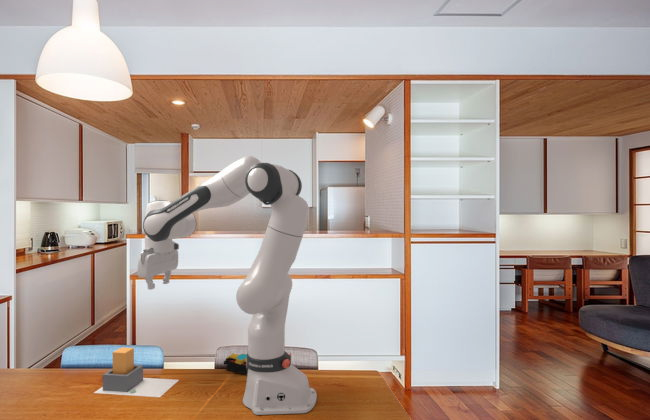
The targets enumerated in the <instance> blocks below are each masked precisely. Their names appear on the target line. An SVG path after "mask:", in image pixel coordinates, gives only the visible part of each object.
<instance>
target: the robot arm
mask: <svg viewBox="0 0 650 420" xmlns="http://www.w3.org/2000/svg"><path fill="white" fill-rule="evenodd" d="M302 185H303V183H302V180H301V178H300V176H299V175H298V174H297V173H296V172H294V171H293V170H291V169H287V168H285V167H283V166H282V165H278V164H275V163H274V164H273V163H269V162H261V161H260V160H259V159H258V158H257V157H255V156H252V155H245V156H243V157H241V158H239V159H237V160H235V161H233V162H231V163H230V164H229V165H227V166H226V167H224V168H223V169H221V170H220V171H219V172H217V173H216V174H215V175H214V176H212V177H211V178H209V179H208V180H206V181H205V182H203V183H201V184H200V185H198V186H196V187H195V188H193V189H190V191H188V192H186V193H184V194H183V195H181V196H179V197H178V198H177V199H175V200H173V201H172V202H171V201H170V200H168V199H167V200H166V199H162V200H160V199H159V200H154V201H153V200H152V201H150V202H149V203H148V204H146V207H145V211H144V212H145V215H144V219H143V223H142V229H143V232H144V234H145V236H144V249H143V250H142V252H141V253H140V255H139V257H138V259H137V260H138V261H137V263H138V264H137V271H136V274H137V277H138V278H141V279H145V280H144V281H145V282H146V284H147V289H148V290H150V291H152V290H154V289H156V285H155V283H154V276H157V275H162V274H164V276H163V278H162V284H163V285H167V284H169V283H170V279H171V275H172V271H174V270H177V269H178V266H179V249H180V243H177V242H175V241H174V240H176V239H182V238H187V237H188V238H189V237H190V236H192V235H193V234H194V233H195V231H196V228H197V220H196V219H197V218H196V217H195V215H194V214H195V213H197V212H200V211H203V210H208V209H214V208H215V209H216V208H224V207H230V206H231V205H233V204H236V203H238V202H240V201H241V200H242V199H244V198H245V197H246V196H249V195H250V194H251V195H252V196H253V197H255V198H256V199H258V200H259V201H260V202H262V203H263V205H265V206H270V208H271V214H270V217H269V221H268V224H267V227H266V230H265V233H264V237H263V239H262V242H261V245H260V248H259V251H258V252H257V255H256V257H255V259H254V260H253V262H252V264H251V266H250V268H249V270H248V272H247V275H246V276H245V278H244V280H243V282H242V283H241V284H240V286H238V289H237V290H236V295H235V296H236V298H235V299H236V303H237V306H238V307H239V309H240V310H241V311H243V312H244V313H245V314H247V315H252V317H251V321H250V323H249V325H248V330H247V353H246V354H247V358H246V368H247V372H248V373H247V375H246V384H245V391H244V393H243V394H244V395H243V397H242V404H243V405H244V406H245V407H247V408H249V409H250V410H251V411H252V413H253V414H254V415H259V416H260V415H261V416H262V415H263V416H264V415H287V414H288V415H290V414H307V413H308V412H310V411H311V410H312V409H313V408H314V407H315V405H316V403H317V399H318V396H317V391H316V390H315V388H313V387H310V382H309V378H308V377H307V375H306V374H305V373H304V372H302V371H301V370H300V369H298V367H296V366H294V365H293V364H292V352H289V353H288V352H287V351H286V350H285V347H286V346H285V329H286V328H285V327H286V320H287V313H288V307H289V303H290V302H289V300H290V295H291V292H292V288H293V280H292V277H291V275H290V274H289V272H290V269H291V268H292V266H293V264H294V263H295V261H296V259H297V255H298V252H299V250H300V246H301V243H302V241H303V236H304V234H305V229H306V226H307V221H308V216H309V215H308V214H309V204H308V203H307V201H306V200H305V199H304V198H303V197H301V196H300V194H301V192H302V189H303V186H302Z"/></svg>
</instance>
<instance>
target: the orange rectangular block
mask: <svg viewBox="0 0 650 420" xmlns="http://www.w3.org/2000/svg"><path fill="white" fill-rule="evenodd" d="M134 365H135V348H134V347H119V348H118V349H116V350H114V351H113V352H112V369H113V374H124V375H126V374H128V373H129V372H131V371H132V370H134Z"/></svg>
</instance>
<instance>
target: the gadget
mask: <svg viewBox="0 0 650 420" xmlns="http://www.w3.org/2000/svg"><path fill="white" fill-rule="evenodd" d="M246 358H247V353H243V352H242V353H240V354H237V353H231V354H230V355H229V356H228V357H226V358H225V360H224V361H223V362H222V363H223V365H225V366H226V368H225V369H226V371H229V372H232V373H234V372H237V373H236V374H244V375H246V374H247V373H248V372H247V368H246Z"/></svg>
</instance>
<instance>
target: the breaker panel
mask: <svg viewBox="0 0 650 420" xmlns="http://www.w3.org/2000/svg"><path fill="white" fill-rule="evenodd" d="M179 380H180V379H171V378H156V377H155V378H152V377H144V365H141V364H134V370H132V371H131V372H130V373H128V374H127V375H124V374H113V368H111V369H109V370H108V371H106V372H105V373H103V374H102V386H101V387H100V388H99V389H97V390H96V391H94V392H93V394H100V395H101V394H105V395H116V396H117V395H119V396H120V395H121V396H135V397H148V398H161V397H162V396H164V394H165V393H166V392H168V390H170V389H171V388H172V387H173V386H175V385H176V384H177V383H178V382H179Z"/></svg>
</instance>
